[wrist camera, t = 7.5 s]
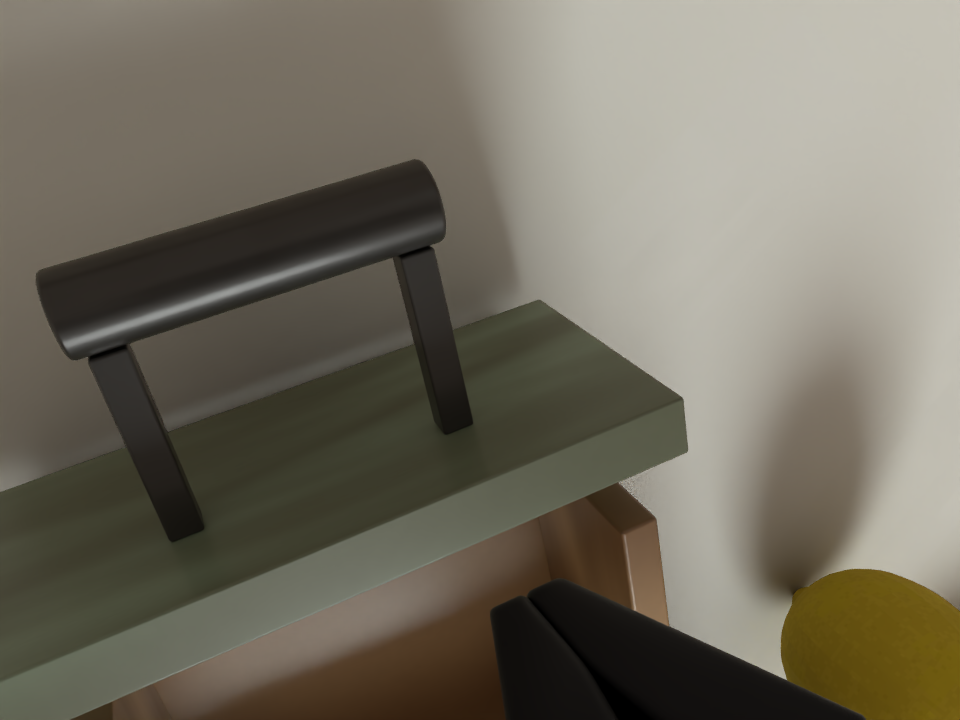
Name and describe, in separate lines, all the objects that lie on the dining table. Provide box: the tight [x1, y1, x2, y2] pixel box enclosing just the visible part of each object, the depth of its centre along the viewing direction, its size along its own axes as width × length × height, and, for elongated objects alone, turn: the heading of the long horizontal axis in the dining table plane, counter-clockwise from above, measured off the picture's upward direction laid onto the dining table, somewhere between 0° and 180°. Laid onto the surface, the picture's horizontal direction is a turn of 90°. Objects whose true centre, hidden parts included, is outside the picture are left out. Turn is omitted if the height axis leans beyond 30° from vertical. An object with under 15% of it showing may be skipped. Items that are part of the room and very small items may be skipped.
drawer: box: [0, 159, 688, 720], centre depth 19 cm, size 20×12×6 cm, turn 12°
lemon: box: [781, 569, 960, 720], centre depth 26 cm, size 6×6×8 cm
